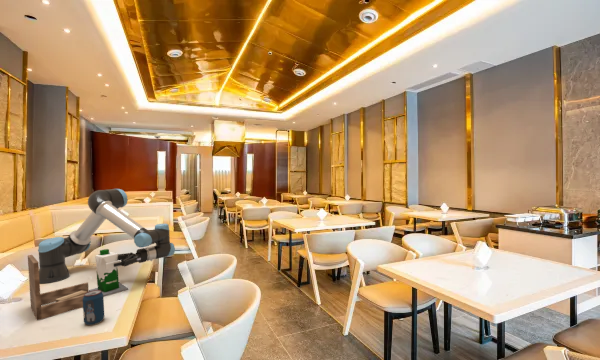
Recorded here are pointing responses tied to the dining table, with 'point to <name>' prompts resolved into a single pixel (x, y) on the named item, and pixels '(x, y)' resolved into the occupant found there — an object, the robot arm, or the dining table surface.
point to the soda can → (93, 307)
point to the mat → (120, 289)
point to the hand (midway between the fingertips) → (101, 264)
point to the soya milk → (106, 271)
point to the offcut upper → (71, 296)
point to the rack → (51, 295)
